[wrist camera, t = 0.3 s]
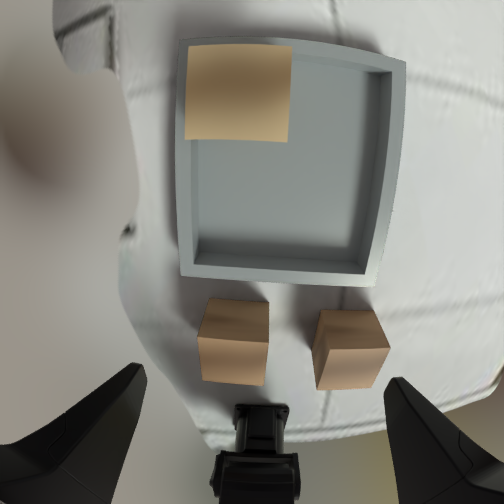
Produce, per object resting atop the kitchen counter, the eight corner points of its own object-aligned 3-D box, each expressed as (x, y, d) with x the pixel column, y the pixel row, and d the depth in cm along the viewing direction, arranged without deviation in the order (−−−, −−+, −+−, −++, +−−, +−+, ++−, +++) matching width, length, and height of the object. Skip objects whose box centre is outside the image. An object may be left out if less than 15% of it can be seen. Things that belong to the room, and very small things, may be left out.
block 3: (359, 349, 25) (370, 387, 21) (311, 349, 26) (316, 390, 21) (373, 310, 23) (390, 347, 19) (320, 308, 23) (330, 349, 19)
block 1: (282, 138, 17) (287, 142, 13) (205, 136, 17) (184, 139, 13) (285, 66, 15) (292, 46, 10) (208, 65, 15) (188, 46, 11)
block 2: (264, 344, 25) (263, 385, 21) (211, 340, 26) (202, 380, 21) (269, 301, 23) (268, 342, 19) (209, 297, 23) (197, 336, 19)
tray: (364, 270, 21) (373, 287, 19) (189, 259, 22) (180, 275, 20) (390, 67, 15) (405, 61, 12) (190, 49, 15) (179, 39, 13)
